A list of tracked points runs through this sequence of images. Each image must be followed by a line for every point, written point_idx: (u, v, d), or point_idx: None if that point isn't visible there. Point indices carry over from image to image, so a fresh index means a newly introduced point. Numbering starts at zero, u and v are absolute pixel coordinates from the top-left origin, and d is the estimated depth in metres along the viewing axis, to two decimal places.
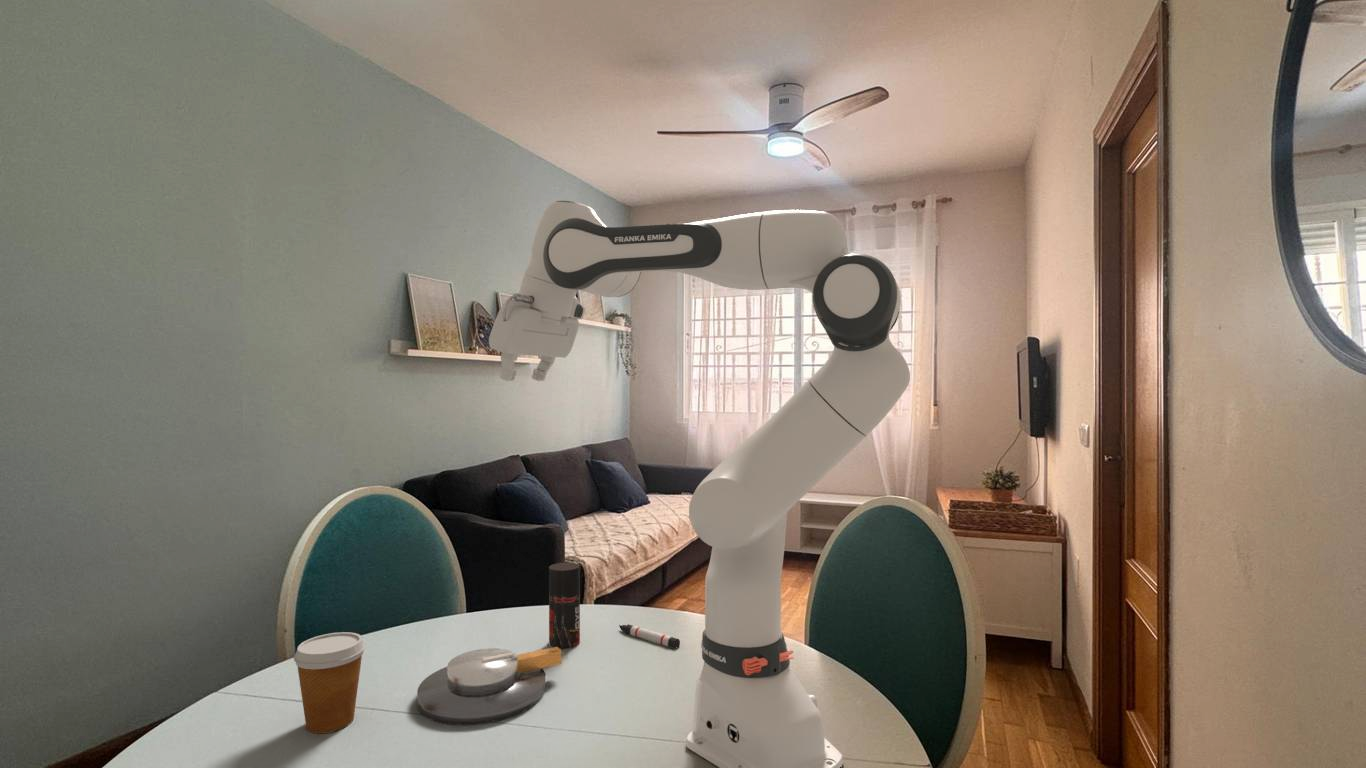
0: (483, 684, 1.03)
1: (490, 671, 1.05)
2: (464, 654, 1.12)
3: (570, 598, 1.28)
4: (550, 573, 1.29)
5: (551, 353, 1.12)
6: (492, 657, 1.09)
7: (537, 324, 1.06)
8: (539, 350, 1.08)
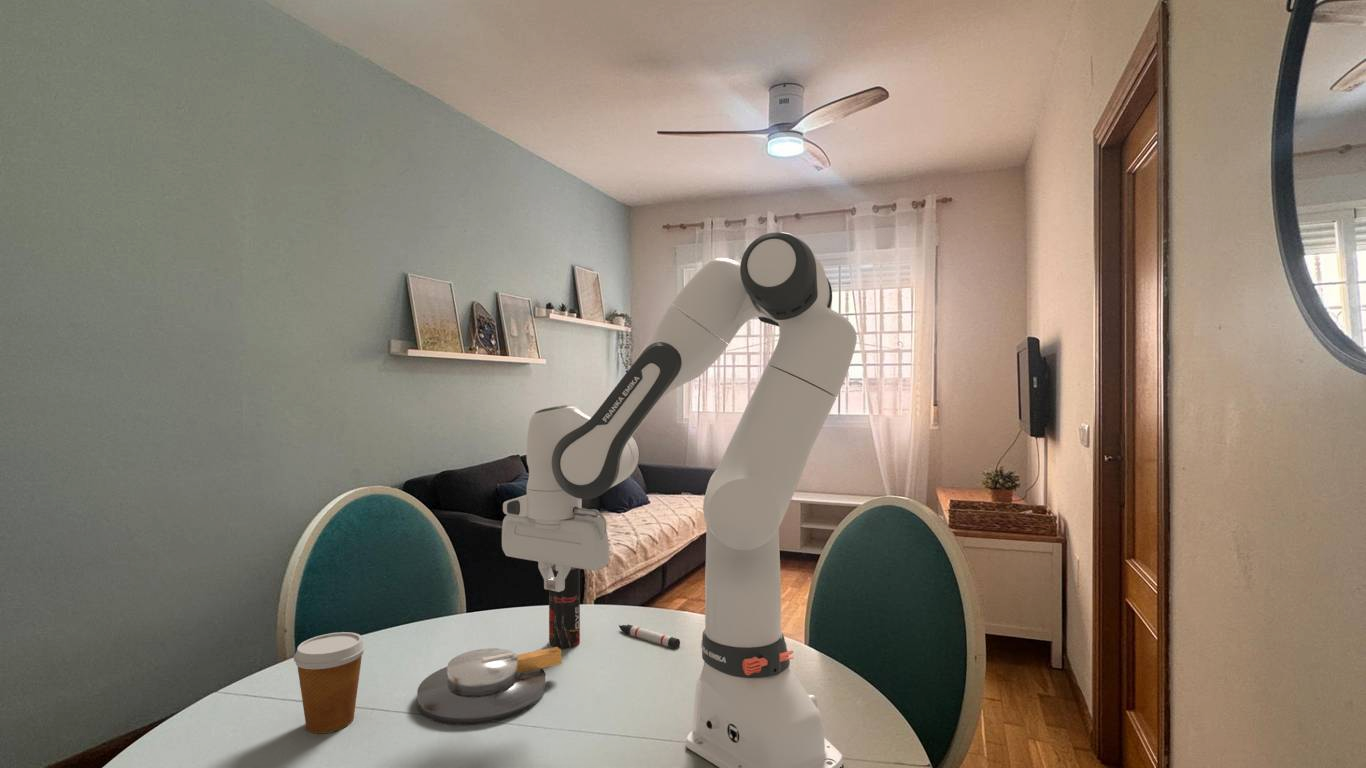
0: (483, 684, 1.03)
1: (490, 671, 1.05)
2: (464, 654, 1.12)
3: (570, 598, 1.28)
4: None
5: None
6: (492, 657, 1.09)
7: None
8: None
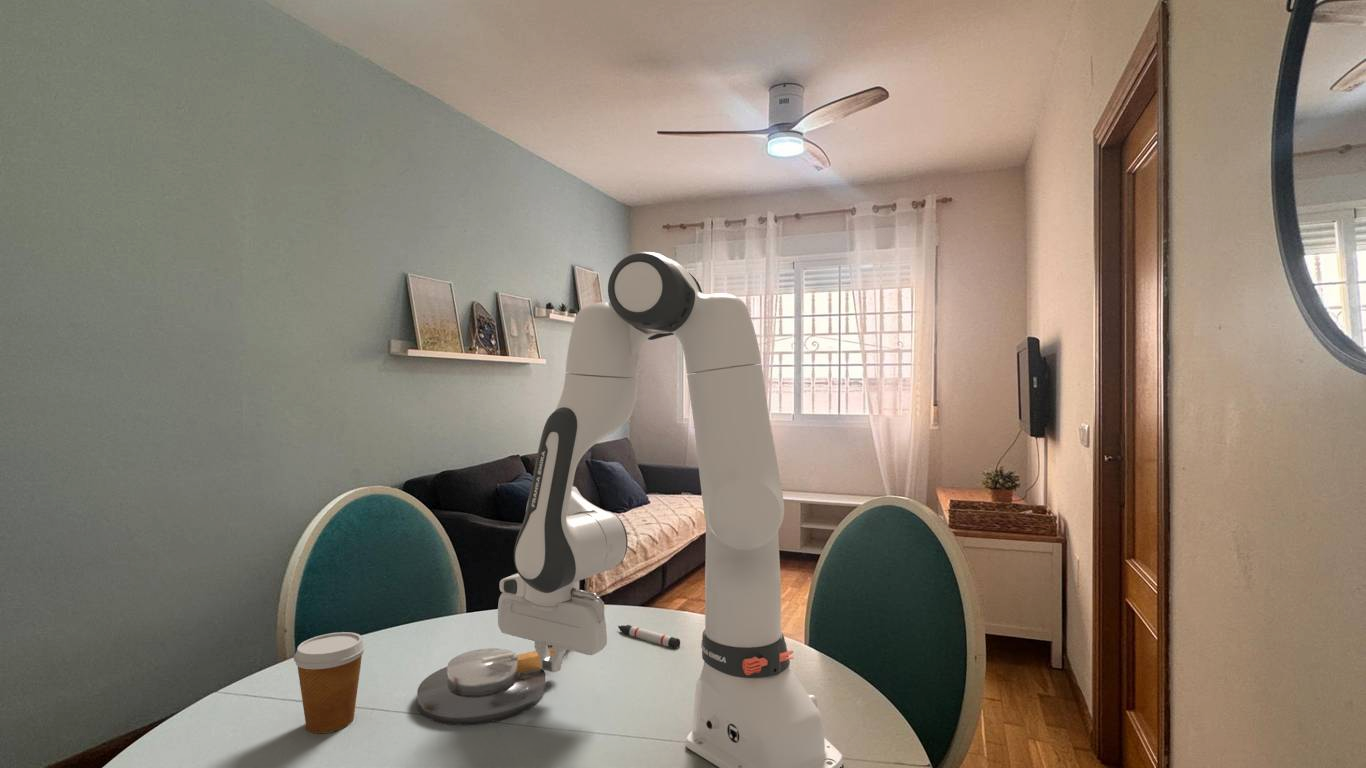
0: (483, 684, 1.03)
1: (490, 671, 1.05)
2: (464, 654, 1.12)
3: None
4: None
5: None
6: (492, 657, 1.09)
7: None
8: None
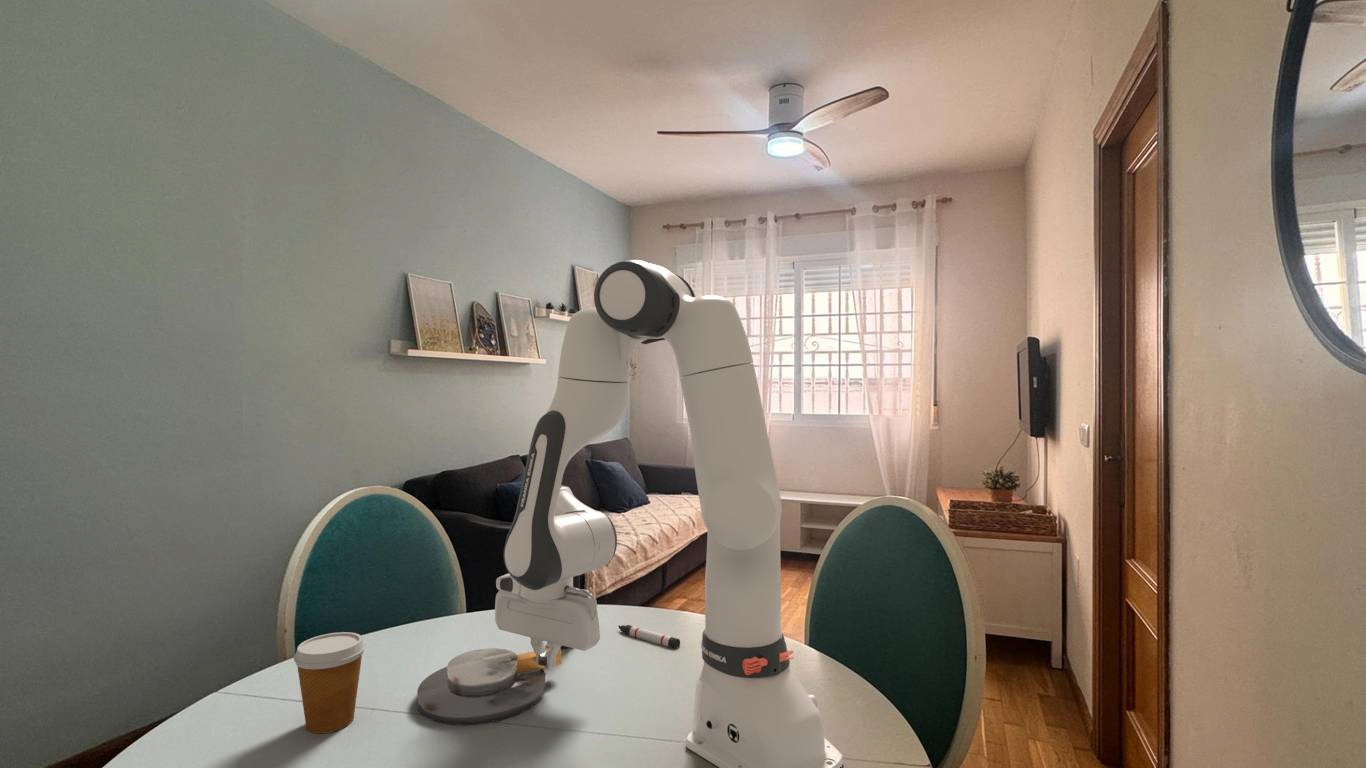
0: (483, 684, 1.03)
1: (490, 671, 1.05)
2: (464, 654, 1.12)
3: None
4: None
5: None
6: (492, 657, 1.09)
7: None
8: None
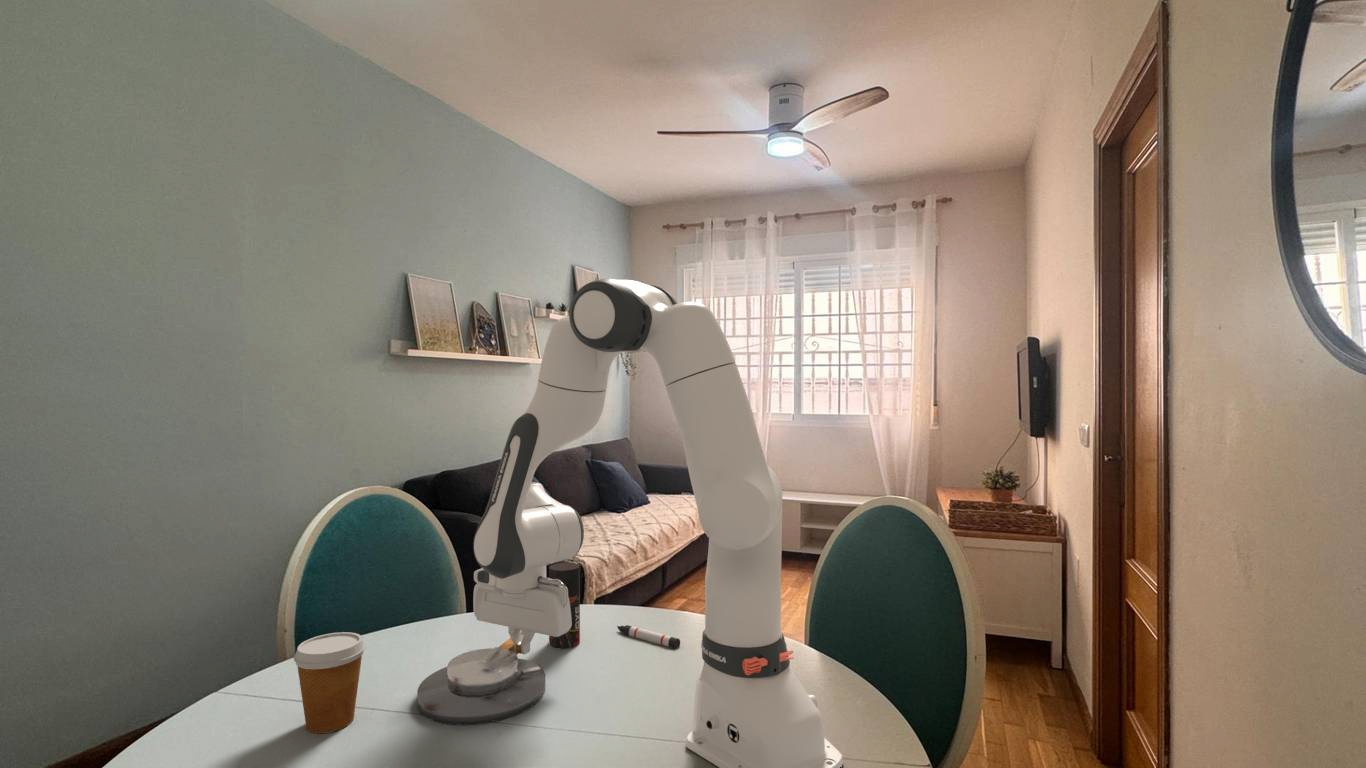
0: (509, 676, 1.06)
1: (508, 663, 1.08)
2: (451, 664, 1.08)
3: (570, 598, 1.28)
4: (550, 573, 1.29)
5: None
6: (488, 655, 1.10)
7: None
8: None
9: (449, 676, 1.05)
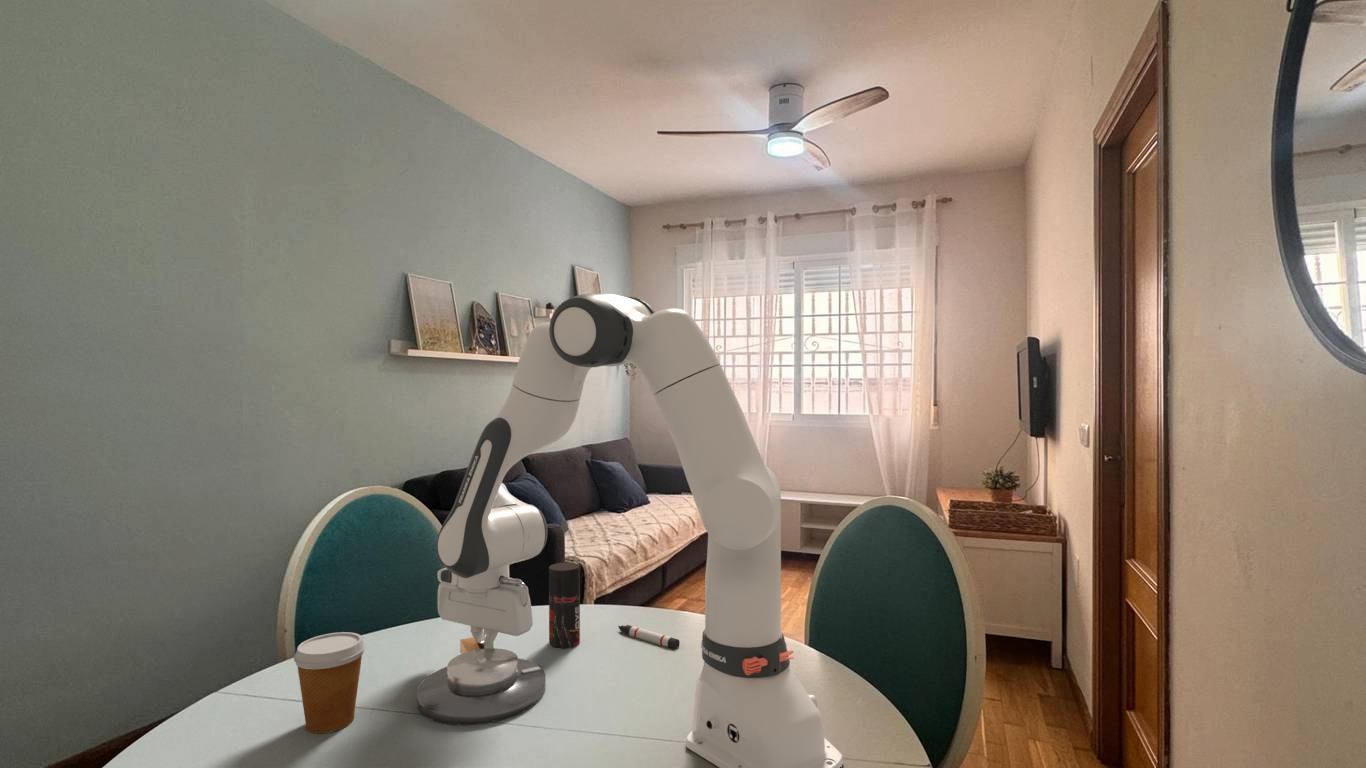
0: None
1: (509, 655, 1.11)
2: (456, 672, 1.05)
3: (570, 598, 1.28)
4: (550, 573, 1.29)
5: None
6: (481, 655, 1.10)
7: None
8: None
9: (466, 682, 1.03)
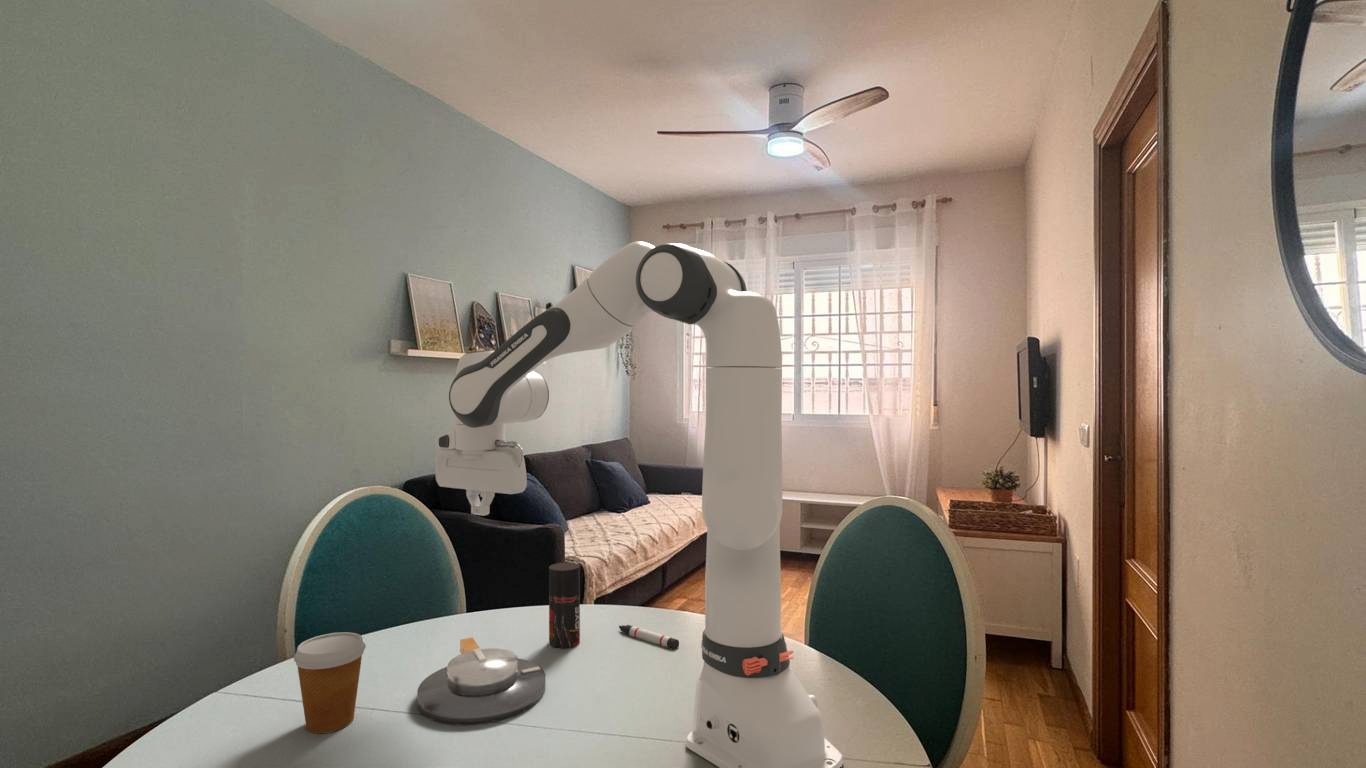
0: None
1: (509, 655, 1.11)
2: (456, 672, 1.05)
3: (570, 598, 1.28)
4: (550, 573, 1.29)
5: None
6: (481, 655, 1.10)
7: None
8: None
9: (466, 682, 1.03)
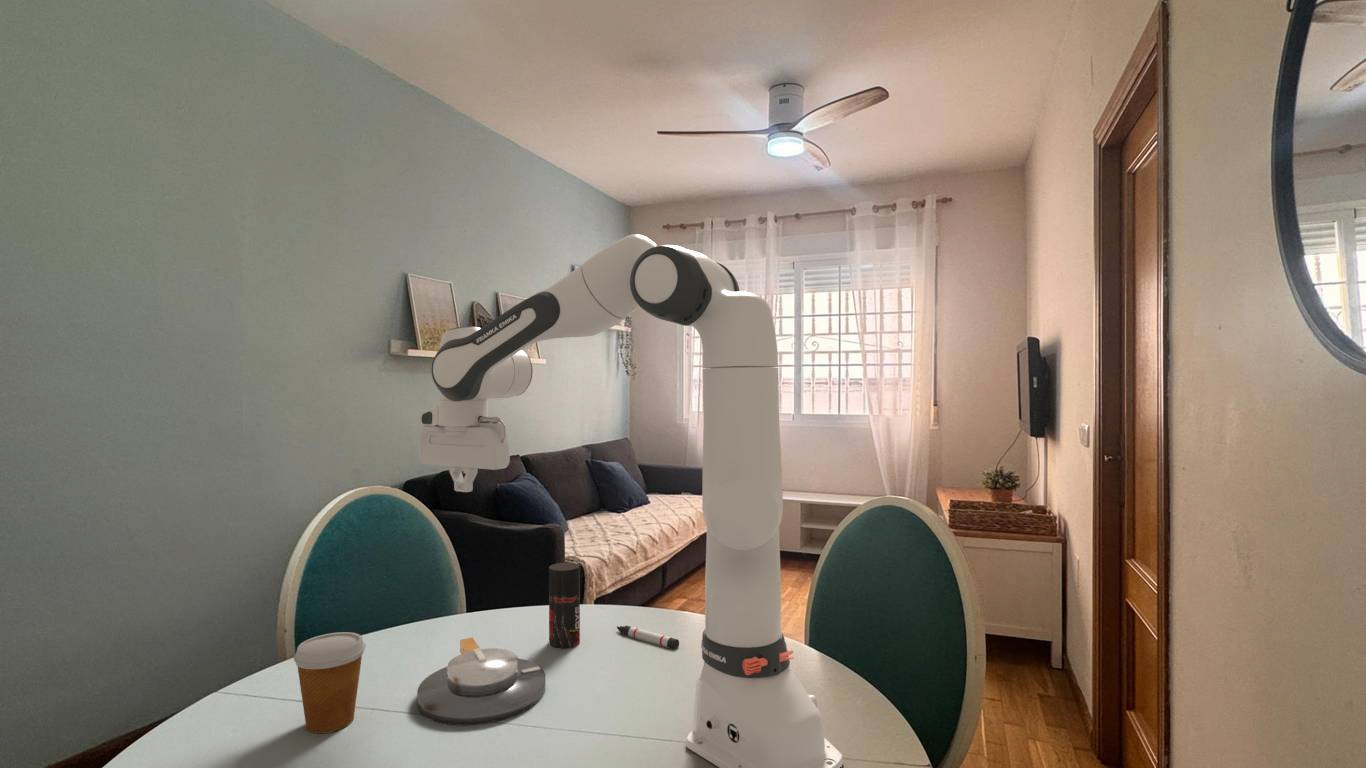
0: None
1: (509, 655, 1.11)
2: (456, 672, 1.05)
3: (570, 598, 1.28)
4: (550, 573, 1.29)
5: None
6: (481, 655, 1.10)
7: None
8: None
9: (466, 682, 1.03)
